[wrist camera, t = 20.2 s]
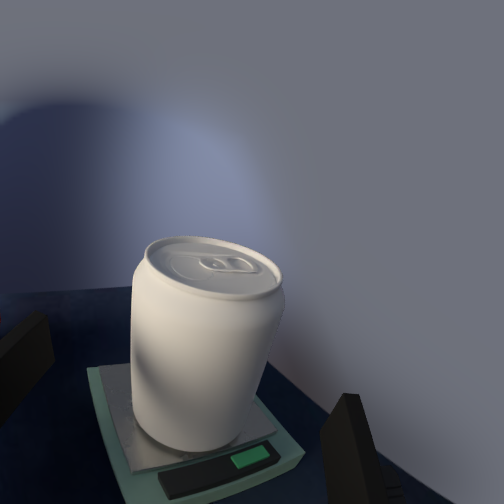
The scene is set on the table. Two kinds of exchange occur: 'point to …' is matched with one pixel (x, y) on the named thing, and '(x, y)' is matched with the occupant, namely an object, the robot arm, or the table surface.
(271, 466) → the scale
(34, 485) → the table surface
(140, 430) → the weighing plate
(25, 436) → the table surface
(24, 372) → the robot arm
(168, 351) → the beverage can
